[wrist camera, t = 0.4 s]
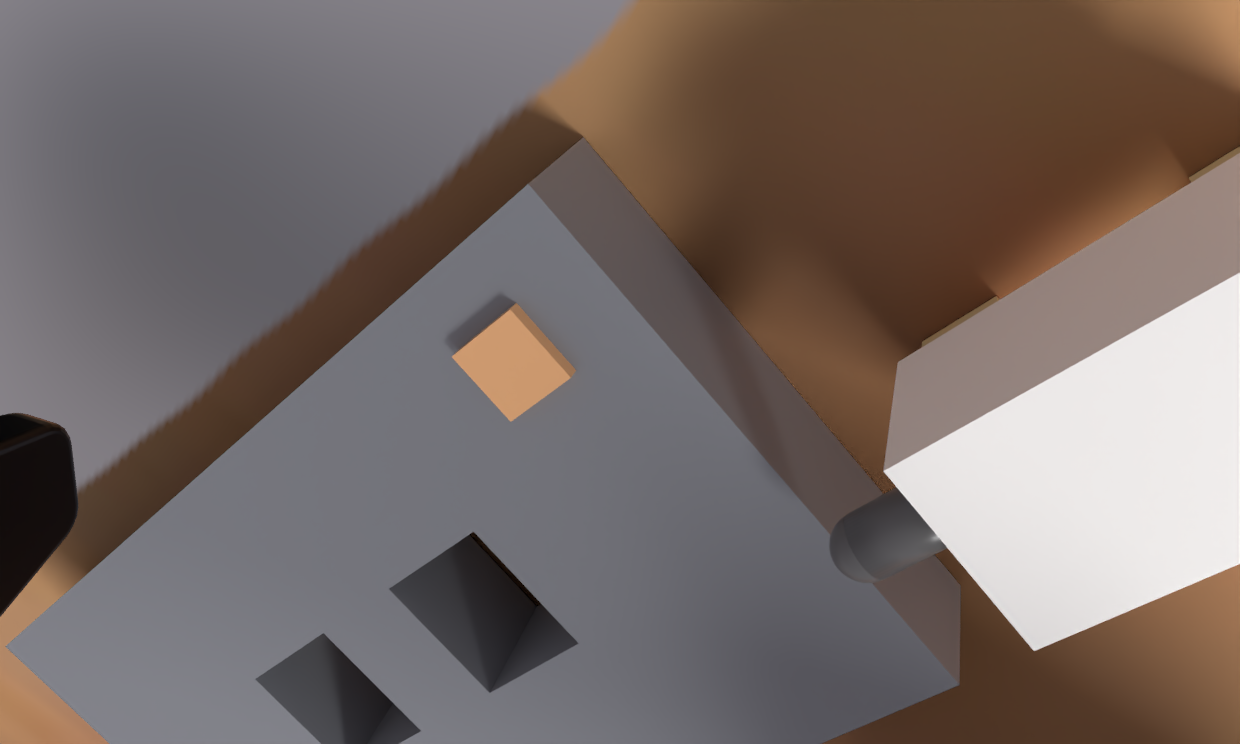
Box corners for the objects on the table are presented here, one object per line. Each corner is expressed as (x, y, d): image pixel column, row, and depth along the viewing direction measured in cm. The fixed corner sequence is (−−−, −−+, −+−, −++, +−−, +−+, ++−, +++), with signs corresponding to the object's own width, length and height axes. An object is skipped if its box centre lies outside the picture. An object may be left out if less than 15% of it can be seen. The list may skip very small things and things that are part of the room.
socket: (961, 585, 23) (959, 696, 20) (382, 860, 32) (326, 960, 30) (582, 137, 21) (521, 189, 18) (86, 575, 30) (-4, 653, 28)
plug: (1380, 252, 18) (1547, 433, 13) (913, 500, 22) (895, 710, 17) (1258, 77, 17) (1382, 192, 12) (803, 369, 21) (750, 545, 16)
